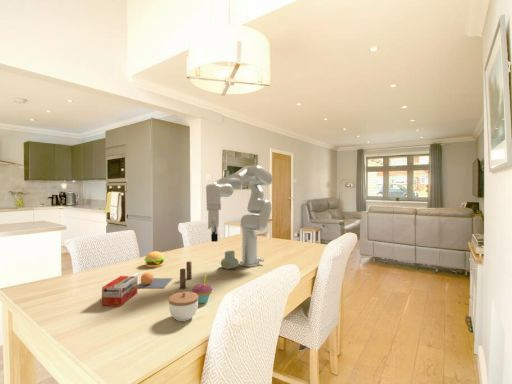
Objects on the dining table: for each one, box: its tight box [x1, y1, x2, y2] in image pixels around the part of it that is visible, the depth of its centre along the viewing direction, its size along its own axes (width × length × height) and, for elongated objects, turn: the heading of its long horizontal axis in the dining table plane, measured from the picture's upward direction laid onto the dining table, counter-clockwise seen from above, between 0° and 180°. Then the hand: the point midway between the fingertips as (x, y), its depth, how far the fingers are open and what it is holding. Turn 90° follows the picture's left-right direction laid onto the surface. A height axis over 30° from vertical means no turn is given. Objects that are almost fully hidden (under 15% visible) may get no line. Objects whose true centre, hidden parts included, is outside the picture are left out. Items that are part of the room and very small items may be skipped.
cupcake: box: [191, 274, 213, 304], centre depth 116 cm, size 9×8×12 cm
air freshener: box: [220, 250, 240, 270], centre depth 165 cm, size 11×8×10 cm
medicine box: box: [101, 275, 139, 307], centre depth 117 cm, size 15×8×8 cm, turn 178°
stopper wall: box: [131, 272, 141, 279], centre depth 137 cm, size 2×18×2 cm, turn 1°
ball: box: [140, 272, 155, 285], centre depth 135 cm, size 6×6×6 cm
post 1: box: [179, 268, 187, 290], centre depth 131 cm, size 3×3×9 cm
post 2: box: [185, 260, 193, 281], centre depth 144 cm, size 3×3×9 cm
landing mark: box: [137, 277, 173, 289], centre depth 137 cm, size 14×14×1 cm
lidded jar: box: [168, 291, 199, 322], centre depth 101 cm, size 11×11×9 cm
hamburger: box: [144, 250, 166, 269], centre depth 169 cm, size 12×12×9 cm
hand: (214, 241), depth 146 cm, fingers closed
